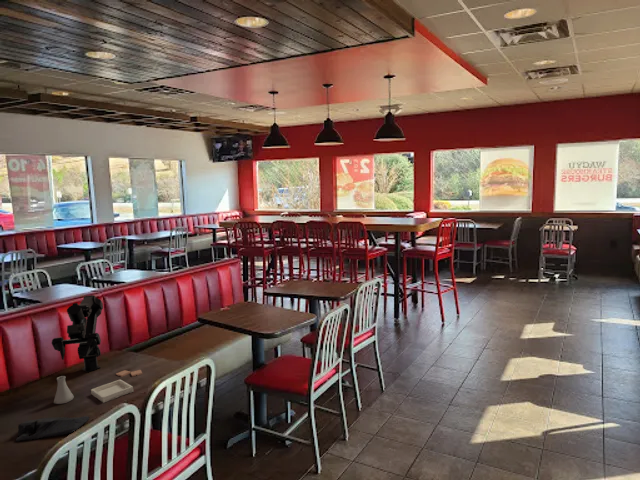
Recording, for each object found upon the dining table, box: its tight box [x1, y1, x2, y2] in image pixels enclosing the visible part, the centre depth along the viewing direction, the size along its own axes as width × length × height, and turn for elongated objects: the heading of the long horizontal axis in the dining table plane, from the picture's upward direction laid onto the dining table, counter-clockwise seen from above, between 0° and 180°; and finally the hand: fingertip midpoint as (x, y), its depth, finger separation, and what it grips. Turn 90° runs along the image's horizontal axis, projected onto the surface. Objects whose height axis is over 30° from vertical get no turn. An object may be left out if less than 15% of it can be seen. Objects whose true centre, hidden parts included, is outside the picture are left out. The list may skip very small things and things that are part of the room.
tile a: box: [115, 369, 131, 378], centre depth 221 cm, size 4×4×1 cm
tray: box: [90, 378, 134, 404], centre depth 200 cm, size 13×13×2 cm
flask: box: [53, 375, 75, 405], centre depth 195 cm, size 7×7×10 cm
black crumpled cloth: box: [15, 415, 90, 442], centre depth 172 cm, size 15×22×5 cm
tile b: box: [129, 369, 143, 377], centre depth 220 cm, size 4×4×1 cm
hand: (74, 357), depth 203 cm, fingers open, 9 cm apart
